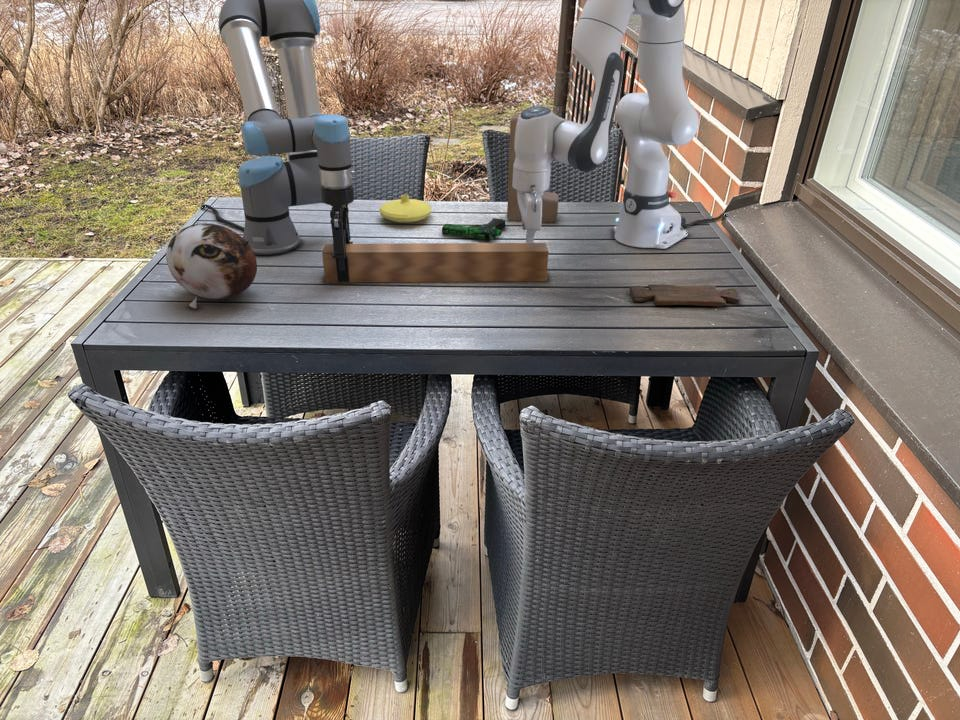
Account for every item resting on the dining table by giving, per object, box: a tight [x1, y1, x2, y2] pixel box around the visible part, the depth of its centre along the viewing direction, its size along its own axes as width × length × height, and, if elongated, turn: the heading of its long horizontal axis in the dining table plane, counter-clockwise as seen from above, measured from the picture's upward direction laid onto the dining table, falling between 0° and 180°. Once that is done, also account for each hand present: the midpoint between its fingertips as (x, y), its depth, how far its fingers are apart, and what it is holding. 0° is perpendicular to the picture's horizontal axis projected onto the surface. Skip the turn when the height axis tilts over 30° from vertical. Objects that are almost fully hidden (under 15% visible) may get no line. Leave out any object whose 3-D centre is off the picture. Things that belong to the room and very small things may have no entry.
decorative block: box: [506, 112, 560, 223], centre depth 211 cm, size 8×15×30 cm, turn 82°
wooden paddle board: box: [629, 284, 740, 307], centre depth 171 cm, size 26×2×10 cm
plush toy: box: [165, 222, 258, 309], centre depth 165 cm, size 22×18×20 cm
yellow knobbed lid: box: [378, 194, 433, 224], centre depth 215 cm, size 16×16×7 cm
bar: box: [321, 242, 549, 284], centre depth 178 cm, size 55×6×8 cm, turn 93°
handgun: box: [441, 217, 506, 242], centre depth 207 cm, size 16×3×15 cm
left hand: (345, 275), depth 179 cm, fingers closed on bar, 6 cm apart
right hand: (527, 235), depth 176 cm, fingers open, 8 cm apart
